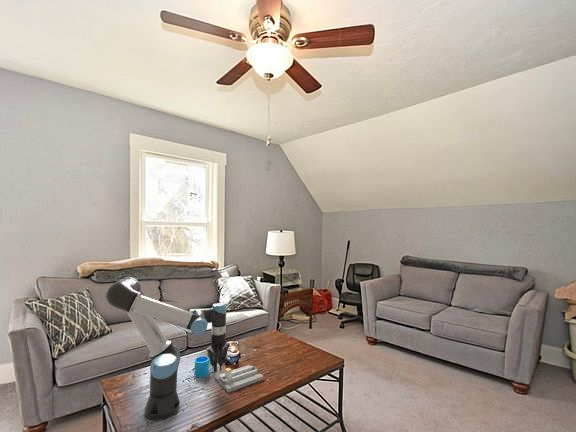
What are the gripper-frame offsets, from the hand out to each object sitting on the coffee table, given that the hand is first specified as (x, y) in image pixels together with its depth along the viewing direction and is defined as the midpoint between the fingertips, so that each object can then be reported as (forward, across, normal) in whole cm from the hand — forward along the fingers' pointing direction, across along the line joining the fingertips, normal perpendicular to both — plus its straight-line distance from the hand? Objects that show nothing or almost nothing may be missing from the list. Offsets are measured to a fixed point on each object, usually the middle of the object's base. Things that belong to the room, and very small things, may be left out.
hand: (217, 377), depth 155 cm
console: (+5, +14, 0) cm, 15 cm away
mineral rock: (+6, +14, +31) cm, 35 cm away
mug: (+6, 0, +18) cm, 19 cm away
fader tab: (+3, +7, 0) cm, 7 cm away
